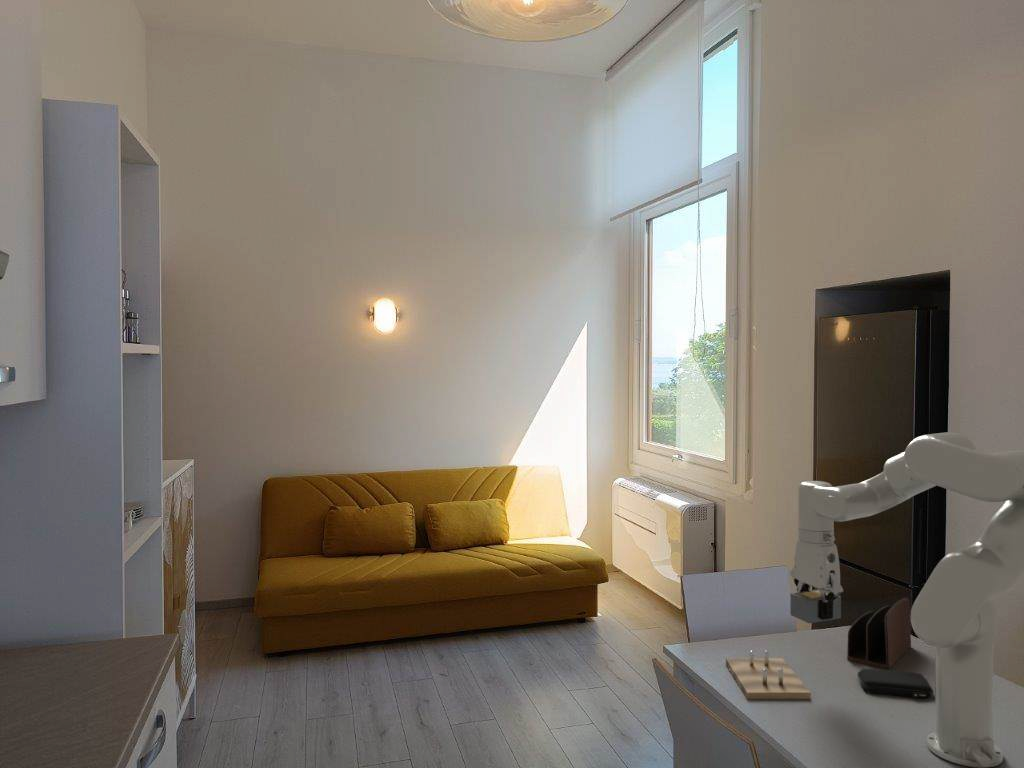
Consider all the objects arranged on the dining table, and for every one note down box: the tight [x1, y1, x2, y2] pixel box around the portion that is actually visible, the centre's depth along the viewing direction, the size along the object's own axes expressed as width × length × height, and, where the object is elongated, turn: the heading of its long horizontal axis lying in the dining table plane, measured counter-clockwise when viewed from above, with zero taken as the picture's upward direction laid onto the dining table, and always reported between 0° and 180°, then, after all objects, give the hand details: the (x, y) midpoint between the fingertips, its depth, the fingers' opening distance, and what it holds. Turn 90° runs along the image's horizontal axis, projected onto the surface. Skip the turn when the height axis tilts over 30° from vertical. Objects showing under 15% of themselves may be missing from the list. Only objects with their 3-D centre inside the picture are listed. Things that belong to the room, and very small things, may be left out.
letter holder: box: [846, 597, 912, 671], centre depth 194 cm, size 10×20×14 cm, turn 138°
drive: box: [790, 588, 842, 624], centre depth 172 cm, size 9×6×5 cm, turn 110°
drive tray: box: [725, 650, 812, 700], centre depth 179 cm, size 20×14×5 cm
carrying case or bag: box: [857, 668, 934, 699], centre depth 173 cm, size 11×3×15 cm
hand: (815, 613), depth 172 cm, fingers closed on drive, 6 cm apart
